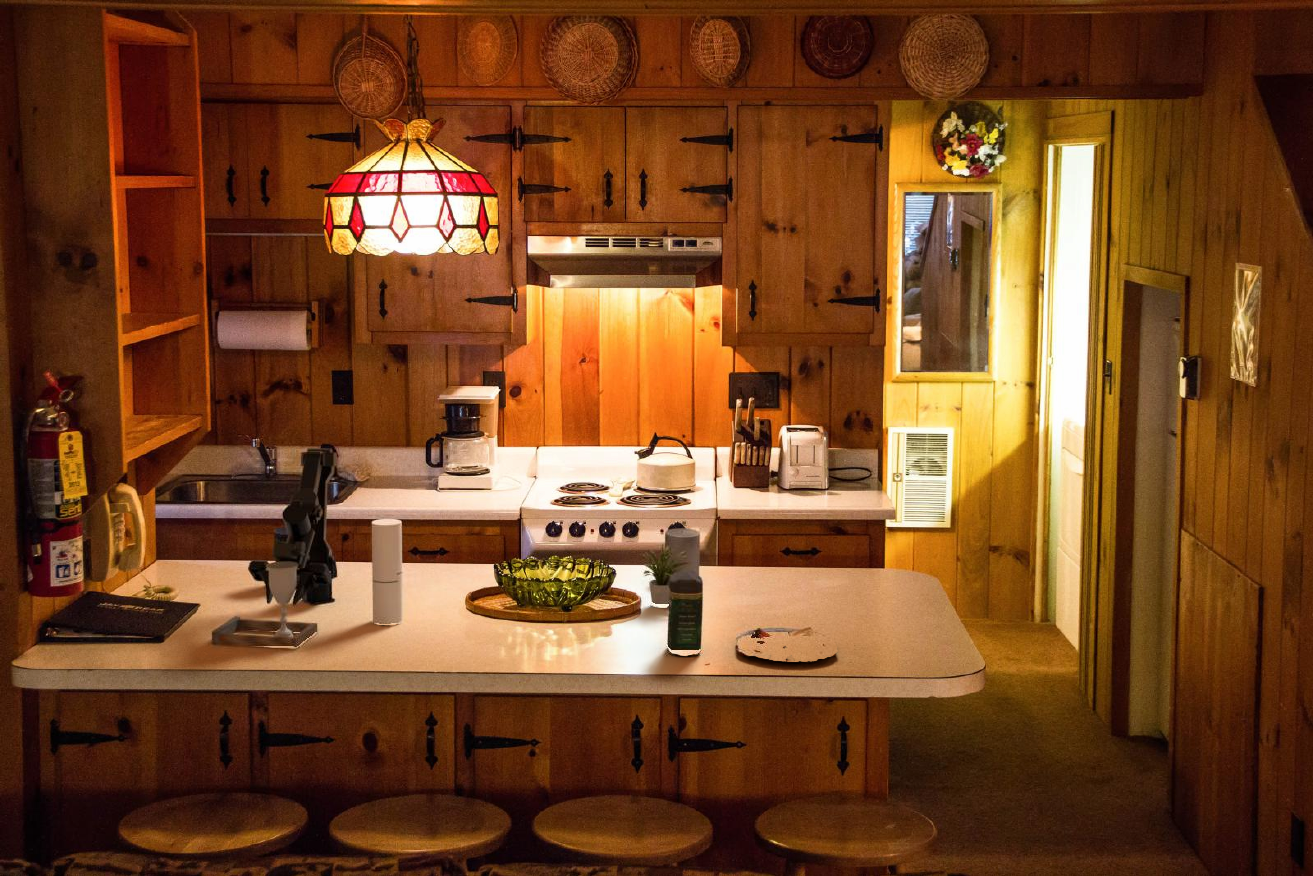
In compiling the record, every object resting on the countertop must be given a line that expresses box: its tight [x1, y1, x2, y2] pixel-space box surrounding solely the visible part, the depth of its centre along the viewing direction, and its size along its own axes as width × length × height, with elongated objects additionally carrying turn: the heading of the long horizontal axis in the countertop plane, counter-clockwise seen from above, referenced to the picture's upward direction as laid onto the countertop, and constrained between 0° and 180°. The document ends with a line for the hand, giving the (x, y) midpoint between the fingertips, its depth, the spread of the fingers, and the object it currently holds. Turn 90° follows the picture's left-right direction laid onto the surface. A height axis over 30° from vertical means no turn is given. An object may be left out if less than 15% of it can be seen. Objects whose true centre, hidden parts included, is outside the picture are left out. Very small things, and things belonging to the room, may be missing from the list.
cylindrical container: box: [371, 518, 404, 624], centre depth 355 cm, size 7×7×25 cm
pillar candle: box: [664, 527, 701, 577], centre depth 400 cm, size 10×10×15 cm
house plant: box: [640, 543, 691, 604], centre depth 374 cm, size 14×14×16 cm
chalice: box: [266, 561, 299, 637], centre depth 340 cm, size 7×7×18 cm
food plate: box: [735, 626, 826, 653], centre depth 340 cm, size 25×23×4 cm
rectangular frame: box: [211, 615, 318, 647], centre depth 341 cm, size 20×13×3 cm, turn 82°
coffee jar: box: [666, 571, 704, 650], centre depth 337 cm, size 10×8×19 cm
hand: (280, 603), depth 338 cm, fingers closed on chalice, 6 cm apart
